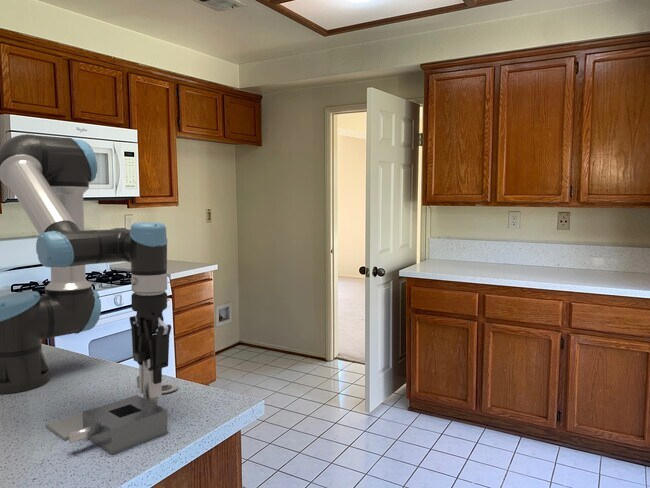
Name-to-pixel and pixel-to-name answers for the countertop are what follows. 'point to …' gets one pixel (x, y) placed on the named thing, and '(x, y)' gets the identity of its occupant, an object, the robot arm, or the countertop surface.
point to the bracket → (165, 386)
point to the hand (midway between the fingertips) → (150, 393)
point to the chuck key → (145, 373)
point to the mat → (66, 426)
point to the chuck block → (122, 424)
